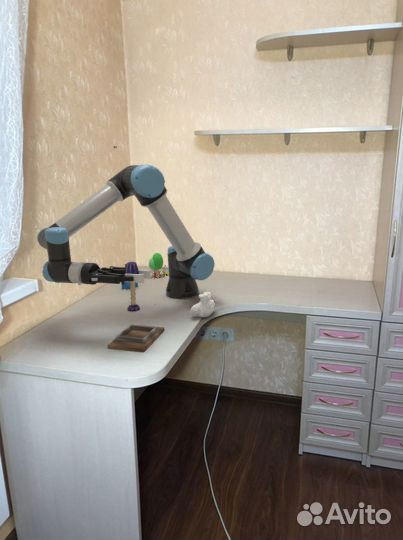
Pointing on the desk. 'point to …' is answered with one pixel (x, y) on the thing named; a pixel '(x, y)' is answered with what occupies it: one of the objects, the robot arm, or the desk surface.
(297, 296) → the desk surface
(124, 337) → the plate
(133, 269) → the toy lamp
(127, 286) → the perfume bottle
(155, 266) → the green toy tree
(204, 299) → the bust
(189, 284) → the robot arm
